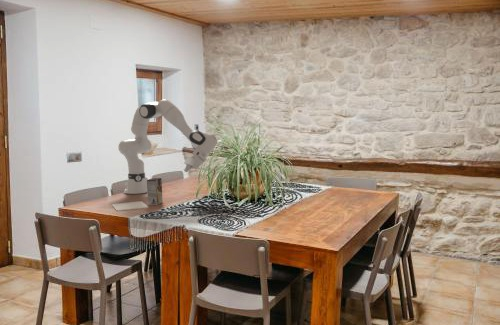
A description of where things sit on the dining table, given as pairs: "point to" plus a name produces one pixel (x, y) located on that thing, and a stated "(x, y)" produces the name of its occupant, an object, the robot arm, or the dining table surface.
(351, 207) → the dining table surface
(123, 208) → the mat
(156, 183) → the coffee box
